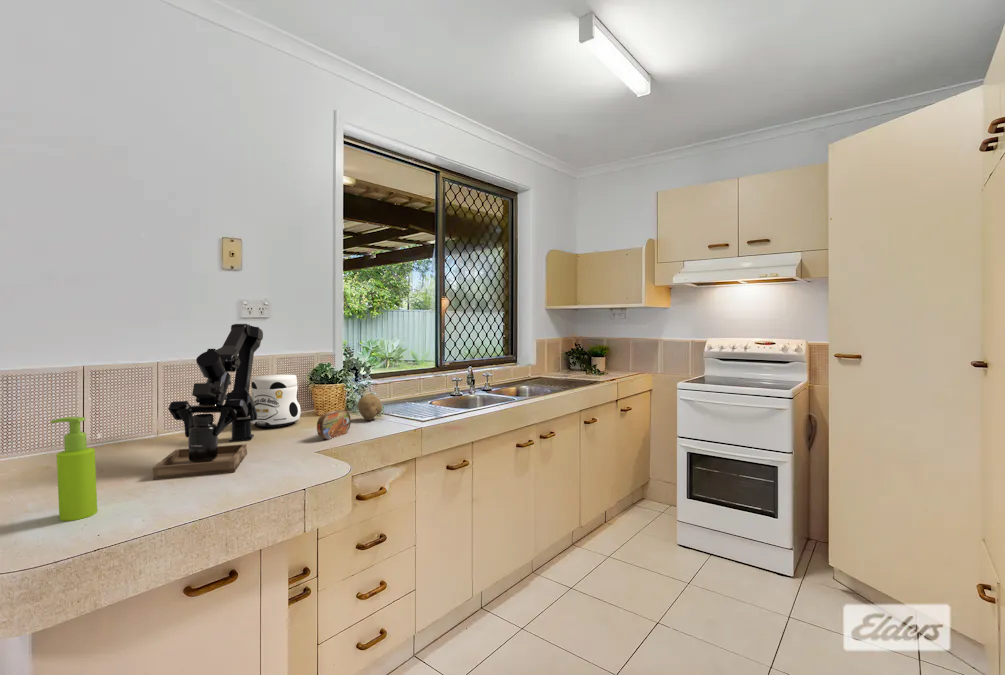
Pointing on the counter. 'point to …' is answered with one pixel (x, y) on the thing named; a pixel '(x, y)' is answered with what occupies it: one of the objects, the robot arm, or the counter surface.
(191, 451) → the supplement bottle
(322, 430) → the tin
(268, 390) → the milk container
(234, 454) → the walnut tray
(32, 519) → the counter surface
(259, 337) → the robot arm
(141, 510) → the counter surface
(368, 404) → the brown potato
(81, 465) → the soap dispenser
